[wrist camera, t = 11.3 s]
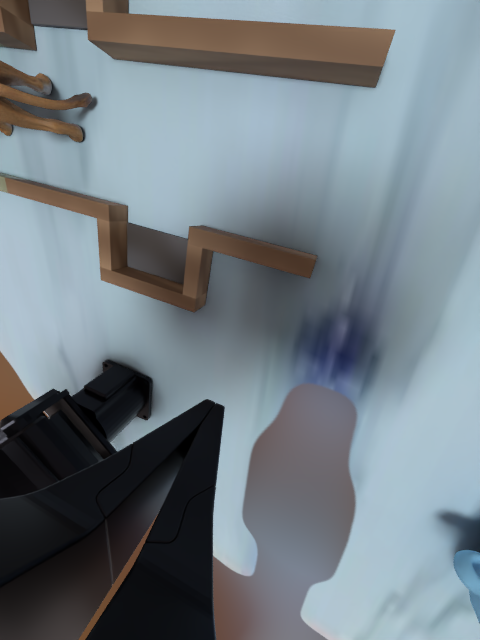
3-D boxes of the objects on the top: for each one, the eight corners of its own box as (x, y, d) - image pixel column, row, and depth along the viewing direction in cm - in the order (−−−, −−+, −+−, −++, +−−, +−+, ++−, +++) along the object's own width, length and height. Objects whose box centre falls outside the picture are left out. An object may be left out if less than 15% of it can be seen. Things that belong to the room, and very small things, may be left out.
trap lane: (290, 333, 20) (287, 344, 18) (-20, 228, 27) (-44, 229, 25) (445, -116, 10) (470, -187, 8) (-106, -85, 17) (-154, -119, 16)
